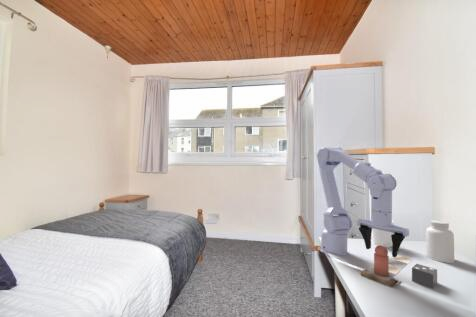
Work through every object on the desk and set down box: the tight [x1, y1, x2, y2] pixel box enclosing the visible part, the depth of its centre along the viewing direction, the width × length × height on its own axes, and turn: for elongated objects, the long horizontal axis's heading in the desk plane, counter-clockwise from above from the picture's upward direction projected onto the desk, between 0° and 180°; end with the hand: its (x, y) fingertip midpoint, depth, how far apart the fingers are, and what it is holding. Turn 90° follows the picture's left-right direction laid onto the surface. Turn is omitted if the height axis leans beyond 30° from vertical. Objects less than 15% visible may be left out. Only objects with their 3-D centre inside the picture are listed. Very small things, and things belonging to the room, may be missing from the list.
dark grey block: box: [411, 263, 438, 289], centre depth 68 cm, size 5×5×5 cm
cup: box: [371, 219, 395, 248], centre depth 99 cm, size 9×9×12 cm
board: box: [360, 254, 414, 288], centre depth 78 cm, size 9×28×1 cm, turn 128°
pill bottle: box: [425, 219, 455, 264], centre depth 85 cm, size 8×8×15 cm
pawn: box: [373, 245, 390, 277], centre depth 72 cm, size 4×4×9 cm
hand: (381, 252), depth 72 cm, fingers open, 7 cm apart
